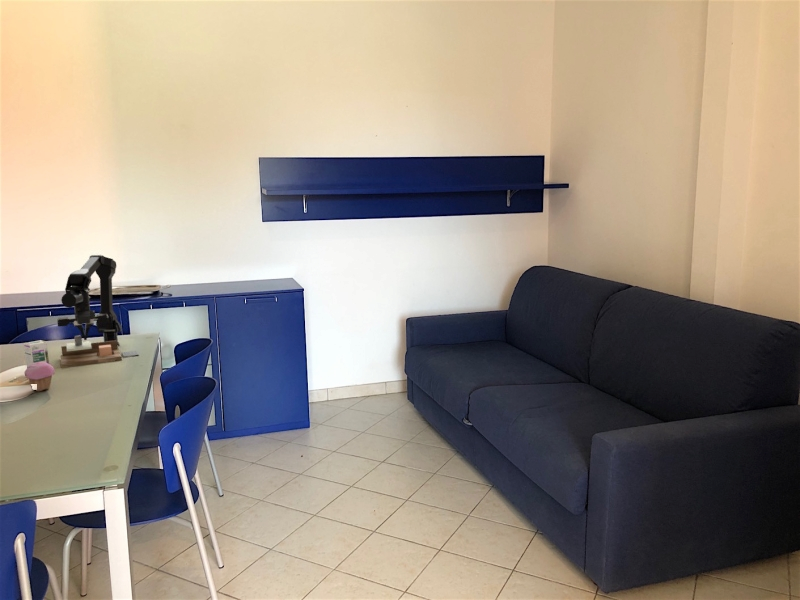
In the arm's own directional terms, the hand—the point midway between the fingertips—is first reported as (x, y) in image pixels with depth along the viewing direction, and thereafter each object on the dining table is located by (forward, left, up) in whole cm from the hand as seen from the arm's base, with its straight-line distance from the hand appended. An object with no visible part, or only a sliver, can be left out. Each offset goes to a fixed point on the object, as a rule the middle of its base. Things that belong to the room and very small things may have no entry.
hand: (85, 340), depth 250 cm
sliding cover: (0, -3, -3) cm, 4 cm away
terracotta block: (+2, +7, -8) cm, 11 cm away
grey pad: (+2, +16, -8) cm, 18 cm away
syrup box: (+25, -17, -8) cm, 31 cm away
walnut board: (+2, +1, -8) cm, 8 cm away
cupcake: (+39, -16, -8) cm, 43 cm away
